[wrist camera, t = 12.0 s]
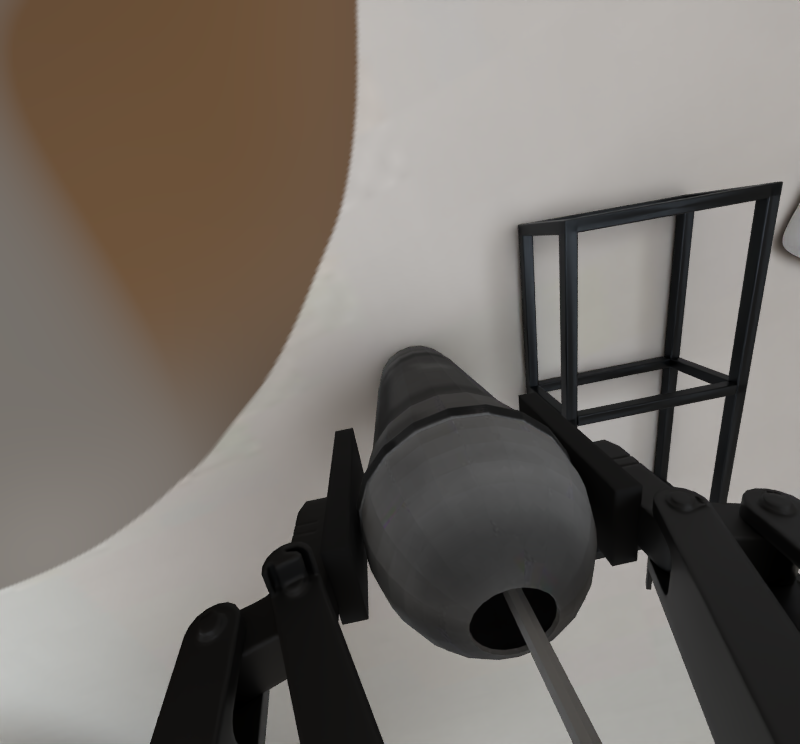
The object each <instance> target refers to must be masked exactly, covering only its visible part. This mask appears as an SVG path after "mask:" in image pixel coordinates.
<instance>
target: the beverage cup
mask: <svg viewBox="0 0 800 744" xmlns="http://www.w3.org/2000/svg"><path fill="white" fill-rule="evenodd" d="M356 507H357V515H358V523H359V530H360V535H361V538H362V540H363V542H364V544H365V548H366V556H367V559H368V562H369V565H370V569H371V571H372V573H373V575H374V577H375V579H376V580H377V582H378V584H379V586H380V588H381V589H382V591H383V593H384V594H385V596H386V598H387V600H388V601H389V603H390V605H391V606H392V608H393V609H394V610H395V612H396V613H397V614H398V615H399V616H400V618H401V619H402V620H403V621H404V622H406V623H407V624H408V625H409V626H411V627H412V628H413V629H415V630H416V631H417V632H418V633H420V634H421V635H422V636H424V637H425V638H426V639H428V640H429V641H430V642H431V643H433V644H434V645H436V646H438V647H441V648H443V649H445V650H448V651H450V652H453V653H456V654H459V655H462V656H465V657H468V658H478V659H493V660H501V659H508V658H514V657H519V656H522V655H525V654H527V653H530V652H531V655H532V657H533V659H534V661H535V663H536V665H537V667H538V670H539V672H540V674H541V676H542V678H543V680H544V682H545V684H546V687H547V689H548V691H549V693H550V695H551V697H552V699H553V702H554V704H555V706H556V708H557V710H558V712H559V714H560V716H561V719H562V721H563V723H564V725H565V727H566V729H567V731H568V734H569V736H570V738H571V740H572V742H573V744H602V742H601V740H600V739H599V737H598V735H597V733H596V731H595V729H594V727H593V725H592V723H591V721H590V719H589V717H588V715H587V714H586V712H585V710H584V708H583V706H582V704H581V702H580V700H579V698H578V696H577V694H576V692H575V690H574V688H573V687H572V685H571V683H570V681H569V679H568V677H567V675H566V673H565V671H564V669H563V667H562V665H561V663H560V662H559V660H558V658H557V656H556V654H555V652H554V650H553V648H552V646H551V644H550V641H552V640H553V639H554V638H555V637H556V636H557V635H558V634H559V633H560V632H561V631H562V630H563V629H564V628H565V627H566V626H567V625H568V624H569V623H570V622H571V621H572V620H573V619H574V618H575V616H576V615H577V613H578V611H579V609H580V607H581V605H582V603H583V601H584V600H585V598H586V595H587V593H588V591H589V589H590V587H591V583H592V577H593V571H594V564H595V557H596V551H597V533H596V526H595V522H594V518H593V514H592V510H591V506H590V503H589V499H588V496H587V492H586V488H585V485H584V483H583V481H582V479H581V477H580V476H579V474H578V472H577V470H576V469H575V468H574V467H573V465H572V464H571V460H570V457H569V455H568V453H567V451H566V449H565V448H564V447H563V446H562V444H561V443H560V442H559V440H558V439H557V438H556V437H555V435H554V434H553V433H552V431H551V430H550V429H549V428H548V427H547V426H545V425H543V424H542V423H540V422H538V421H537V420H535V419H533V418H532V417H530V416H528V415H526V414H525V413H523V412H521V411H518V410H514V409H512V408H510V407H509V406H507V405H505V404H503V403H501V402H500V401H498V400H497V399H496V398H494V397H493V396H492V395H491V394H490V393H489V392H487V391H486V390H485V389H484V388H483V387H482V386H480V385H479V384H478V383H477V382H476V381H475V380H473V379H472V378H471V377H470V376H469V375H467V374H466V373H465V372H464V371H463V370H462V369H460V368H459V367H458V366H457V365H456V364H455V363H453V362H452V361H451V360H450V359H448V358H447V357H445V356H443V355H442V354H441V353H439V352H437V351H436V350H434V349H432V348H428V347H423V346H416V347H408V348H406V349H404V350H401V351H399V352H397V353H396V354H395V355H394V356H393V357H391V358H390V359H389V361H388V362H387V364H386V365H385V367H384V369H383V372H382V376H381V382H380V386H379V391H378V401H377V412H376V422H375V432H374V443H373V451H372V454H371V457H370V460H369V464H368V468H367V470H366V472H365V473H364V475H363V479H362V483H361V487H360V491H359V495H358V499H357V503H356Z"/></svg>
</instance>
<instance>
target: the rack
mask: <svg viewBox="0 0 800 744" xmlns="http://www.w3.org/2000/svg"><path fill="white" fill-rule="evenodd" d="M782 185H783V182H774V183H766V184H759V185H752V186H745V187H738V188H731V189H723V190H716V191H709V192H702V193H695V194H687V195H682V196H676V197H671V198H665V199H660V200H654V201H648V202H643V203H637V204H632V205H626V206H620V207H615V208H609V209H604V210H598V211H593V212H587V213H581V214H576V215H570V216H565V217H559V218H554V219H548V220H542V221H537V222H531V223H526V224H520V225H518V233H519V250H520V269H521V289H522V309H523V328H524V348H525V368H526V388H527V394H528V393H533V392H536V393H537V394H538V395H539V396H541V397H542V398H543V399H544V400H545V401H546V402H547V403H549V404H550V405H551V406H552V407H553V408H554V409H555V410H557V411H558V412H559V413H560V414H561V415H562V416H564V417H565V418H566V419H567V420H568V421H569V422H570V423H572V424H573V425H574V426H575V427H576V428H577V425H578V426H581V425H586V424H591V423H596V422H601V421H606V420H611V419H616V418H621V417H625V416H630V415H635V414H640V413H645V412H650V411H655V410H660V412H659V424H658V435H657V446H656V458H655V469H654V474H655V475H656V476H657V477H659V478H660V479H661V480H662V481H664V482H665V483H666V484H667V485H669V486H670V487H673V486H672V485H671V484H670V483H668V482H667V472H668V462H669V452H670V443H671V433H672V423H673V413H674V407H675V406H680V405H685V404H690V403H695V402H700V401H705V400H709V399H714V398H719V397H724V396H726V397H725V403H724V410H723V416H722V423H721V429H720V435H719V442H718V448H717V455H716V461H715V468H714V474H713V481H712V487H711V493H710V500H709V502H712V503H727V497H728V491H729V486H730V480H731V474H732V469H733V463H734V457H735V452H736V446H737V440H738V434H739V429H740V423H741V417H742V412H743V406H744V400H745V395H746V389H747V383H748V377H749V372H750V366H751V360H752V355H753V349H754V343H755V338H756V332H757V326H758V320H759V315H760V309H761V303H762V298H763V292H764V286H765V281H766V275H767V269H768V264H769V258H770V252H771V246H772V241H773V235H774V229H775V224H776V218H777V212H778V207H779V201H780V195H781V190H782ZM755 200H756V203H755V210H754V216H753V223H752V229H751V236H750V242H749V249H748V255H747V261H746V268H745V274H744V281H743V287H742V294H741V300H740V307H739V313H738V319H737V326H736V332H735V339H734V345H733V352H732V358H731V365H730V371H729V376H728V375H725V374H723V373H720V372H717V371H715V370H712V369H709V368H706V367H704V366H701V365H698V364H695V363H693V362H690V361H687V360H685V359H682V358H679V355H680V346H681V336H682V326H683V316H684V307H685V297H686V287H687V278H688V268H689V258H690V248H691V239H692V229H693V219H694V211H700V210H705V209H711V208H716V207H722V206H727V205H733V204H738V203H744V202H749V201H755ZM672 215H677V220H676V231H675V242H674V254H673V265H672V276H671V288H670V299H669V310H668V322H667V333H666V344H665V356H664V357H660V358H655V359H649V360H644V361H639V362H634V363H629V364H624V365H619V366H614V367H609V368H604V369H599V370H593V371H588V372H583V373H578V374H577V351H578V232H584V231H589V230H595V229H600V228H606V227H612V226H617V225H623V224H628V223H634V222H639V221H645V220H650V219H656V218H661V217H667V216H672ZM538 235H559V269H560V335H561V377H558V378H553V379H548V380H543V381H538V360H537V334H536V308H535V282H534V256H533V236H538ZM659 369H663V378H662V390H661V394H660V395H655V396H650V397H645V398H640V399H635V400H630V401H625V402H620V403H615V404H611V405H606V406H601V407H596V408H591V409H586V410H581V411H577V386H578V385H583V384H588V383H593V382H598V381H603V380H608V379H613V378H618V377H623V376H628V375H633V374H638V373H644V372H649V371H654V370H659ZM678 371H681V372H683V373H686V374H688V375H691V376H693V377H696V378H698V379H700V380H703V381H705V382H708V383H710V385H705V386H700V387H695V388H690V389H685V390H680V391H676V384H677V375H678ZM558 389H561V402H562V404H561V403H560V402H558V401H557V400H556V399H555V398H553V397H552V396H551V395H550V394H549V393H547V392H548V391H553V390H558ZM638 550H642V549H641V548H640V547H639V546H638ZM600 558H605V556H604V555H603V553H602V552H601V551H600V549H599V548H598V547H597V551H596V557H595V560H596V559H600Z"/></svg>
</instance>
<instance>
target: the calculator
mask: <svg viewBox="0 0 800 744" xmlns="http://www.w3.org/2000/svg"><path fill="white" fill-rule="evenodd" d="M783 246H784V248H785V249H786V250H787V251H788V252H790V253H791V254H793V255H795V256H797V257H799V258H800V204H799V206H798V207H797V209H796V211H795V212H794V214H793V216H792V218H791V220H790V222H789V223H788V225H787V227H786V230H785V232H784V235H783Z"/></svg>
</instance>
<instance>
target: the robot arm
mask: <svg viewBox="0 0 800 744" xmlns="http://www.w3.org/2000/svg"><path fill="white" fill-rule="evenodd" d="M519 411H521V412H523V413H525V414H526V415H528V416H530V417H532V418H533V419H535V420H537V421H538V422H540V423H542V424H543V425H545V426H547V427H548V428H549V429H550V430H551V431H552V433H553V434H554V435H555V437H556V438H557V439H558V440H559V442H560V443H561V444H562V446H563V447H564V448H565V449H566V451H567V453H568V455H569V457H570V460H571V464H572V465H573V467H574V468H575V469H576V470H577V472H578V474H579V476H580V477H581V479H582V481H583V483H584V485H585V488H586V492H587V496H588V499H589V503H590V506H591V510H592V514H593V518H594V522H595V526H596V533H597V547H598V548H599V549H600V551H601V552H602V553H603V555H604V556H605V557H606V559H607V560H608V561H609V562H610V564H611V565H612V566H615V565H620V564H624V563H629V562H634V561H637V553H638V546H639V547H640V548H641V549H642V550H643V551H644V552H645V553H646V554H647V555H648V563H647V574H646V589H650V590H651V584H652V581H653V583H654V586H655V589H656V591H657V594H658V596H659V599H660V602H661V604H662V607H663V609H664V612H665V615H666V617H667V620H668V622H669V625H670V628H671V630H672V633H673V635H674V638H675V641H676V643H677V646H678V648H679V651H680V653H681V656H682V659H683V661H684V664H685V666H686V669H687V672H688V674H689V677H690V679H691V682H692V685H693V687H694V690H695V692H696V695H697V698H698V700H699V703H700V705H701V708H702V711H703V713H704V716H705V718H706V721H707V724H708V726H709V729H710V731H711V734H712V737H713V739H714V742H715V744H800V574H799V573H798V570H799V569H800V500H799V499H797V498H796V497H794V496H792V495H789V494H786V493H783V492H780V491H776V490H771V489H758V488H755V489H751V490H747V491H746V492H745V493H744V494H743V496H742V501H741V504H739V503H712V502H709V501H708V500H707V499H706V498H705V497H703V496H701V495H699V494H698V493H696V492H694V491H691V490H687V489H684V488H678V487H670V486H669V485H667V484H666V483H665V482H664V481H662V480H661V479H660V478H659V477H657V476H656V475H655V474H654V473H652V472H651V471H650V470H649V469H647V468H646V467H645V466H644V465H642V464H641V463H639V462H638V461H637V460H636V459H635V458H634V457H632V456H630V454H629V453H627V452H626V451H625V450H624V449H622V448H621V447H620V446H618V445H616V444H613V443H611V442H609V441H606V440H601V441H596V442H592V441H591V440H590V439H589V438H588V437H586V436H585V435H584V434H583V433H582V432H581V431H580V430H578V429H577V428H576V427H575V426H574V425H573V424H572V423H570V422H569V421H568V420H567V419H566V418H565V417H564V416H562V415H561V414H560V413H559V412H558V411H557V410H555V409H554V408H553V407H552V406H551V405H550V404H549V403H547V402H546V401H545V400H544V399H543V398H542V397H541V396H539V395H538V394H537V393H536V392H533V393H528V394H523V395H519ZM363 475H364V472H363V468H362V464H361V460H360V455H359V451H358V447H357V443H356V439H355V434H354V430H353V428H350V429H345V430H340V431H335V439H334V447H333V455H332V462H331V470H330V478H329V486H328V493H327V497H326V498H321V499H316V500H311V501H306V502H305V504H304V505H303V507H302V508H301V509H300V511H299V512H298V515H297V520H296V526H295V529H294V533H293V535H294V536H293V537H292V542H291V543H288V544H285V545H283V546H281V547H279V548H278V549H276V550H275V551H273V552H272V553H271V554H270V555H269V556H268V557H267V559H266V561H265V562H264V564H263V566H262V577H263V579H264V582H265V584H266V587H267V589H268V592H269V594H268V595H267V596H266V597H264V598H262V599H261V600H259V601H257V602H255V603H253V604H251V605H249V606H247V607H245V608H243V609H241V610H239V609H238V607H237V606H236V605H235V604H232V603H229V602H226V603H219V604H216V605H214V606H212V607H210V608H208V609H206V610H205V611H204V612H203V613H201V614H200V615H199V616H197V618H196V619H195V620H194V621H193V622H192V624H191V625H190V626H189V628H188V630H187V632H186V634H185V636H184V638H183V641H182V645H181V648H180V651H179V654H178V657H177V660H176V663H175V667H174V670H173V673H172V676H171V679H170V682H169V685H168V689H167V692H166V695H165V698H164V701H163V704H162V707H161V711H160V714H159V717H158V720H157V723H156V726H155V729H154V733H153V736H152V739H151V742H150V744H265V736H266V725H267V713H268V702H269V690H270V689H271V688H273V687H274V686H276V685H278V684H279V683H281V682H283V681H284V680H286V679H287V680H288V685H289V690H290V695H291V700H292V705H293V710H294V715H295V720H296V725H297V730H298V735H299V740H300V744H384V742H383V739H382V737H381V734H380V731H379V729H378V726H377V724H376V721H375V718H374V716H373V713H372V710H371V708H370V705H369V702H368V700H367V697H366V694H365V692H364V689H363V686H362V684H361V681H360V678H359V676H358V673H357V670H356V668H355V665H354V662H353V660H352V657H351V654H350V652H349V649H348V646H347V644H346V641H345V639H344V636H343V633H342V631H341V628H340V625H339V623H338V621H339V615H340V618H341V621H342V624H343V625H344V624H348V623H353V622H358V621H362V620H367V619H369V616H368V571H367V556H366V548H365V544H364V542H363V540H362V538H361V535H360V530H359V523H358V515H357V507H356V503H357V499H358V495H359V491H360V487H361V483H362V479H363Z"/></svg>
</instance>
